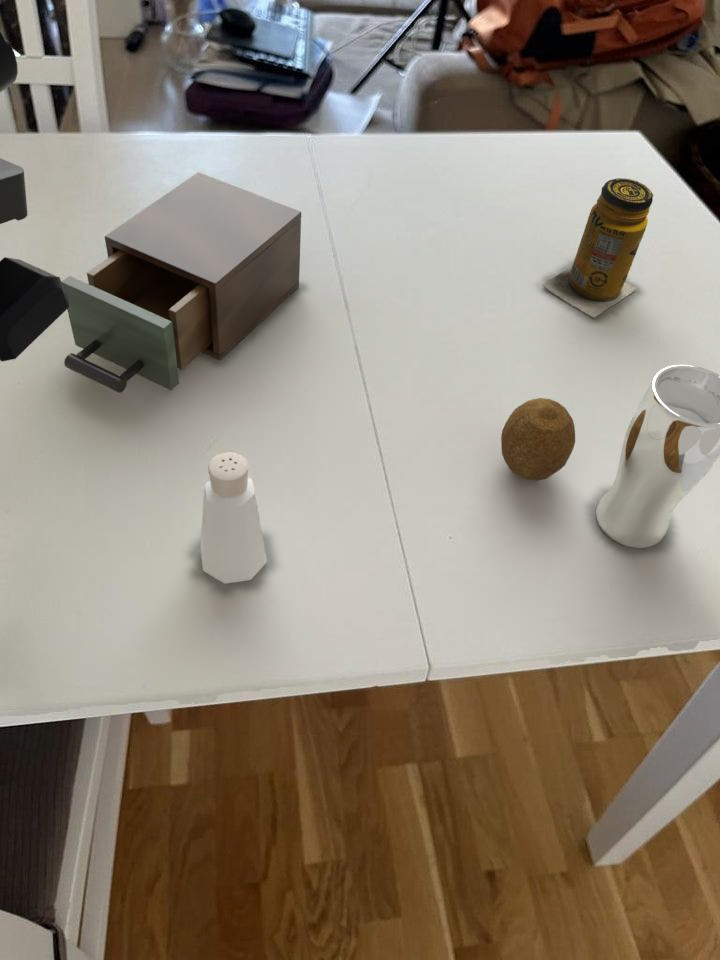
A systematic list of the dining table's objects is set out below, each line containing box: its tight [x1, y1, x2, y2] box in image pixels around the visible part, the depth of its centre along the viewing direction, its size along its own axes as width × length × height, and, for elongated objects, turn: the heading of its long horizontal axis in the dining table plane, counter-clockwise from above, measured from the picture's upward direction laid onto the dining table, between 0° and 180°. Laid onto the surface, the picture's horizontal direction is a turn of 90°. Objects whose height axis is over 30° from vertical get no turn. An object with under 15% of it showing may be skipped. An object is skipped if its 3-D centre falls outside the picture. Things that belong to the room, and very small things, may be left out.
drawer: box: [61, 250, 213, 394], centre depth 78 cm, size 18×11×7 cm, turn 151°
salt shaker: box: [199, 451, 268, 584], centre depth 62 cm, size 5×5×11 cm
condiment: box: [541, 177, 654, 319], centre depth 89 cm, size 7×8×12 cm
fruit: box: [500, 397, 576, 481], centre depth 72 cm, size 6×6×8 cm
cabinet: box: [104, 171, 302, 362], centre depth 84 cm, size 15×13×9 cm
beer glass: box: [595, 364, 720, 549], centre depth 66 cm, size 7×7×15 cm
